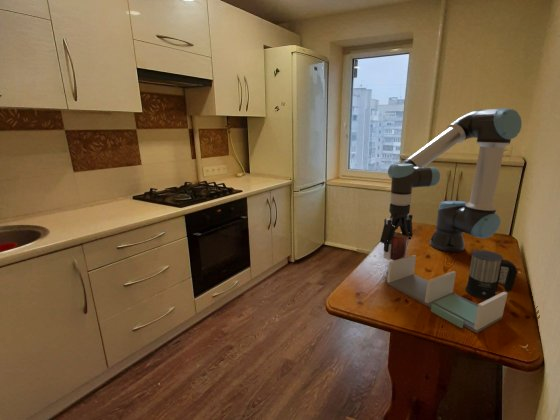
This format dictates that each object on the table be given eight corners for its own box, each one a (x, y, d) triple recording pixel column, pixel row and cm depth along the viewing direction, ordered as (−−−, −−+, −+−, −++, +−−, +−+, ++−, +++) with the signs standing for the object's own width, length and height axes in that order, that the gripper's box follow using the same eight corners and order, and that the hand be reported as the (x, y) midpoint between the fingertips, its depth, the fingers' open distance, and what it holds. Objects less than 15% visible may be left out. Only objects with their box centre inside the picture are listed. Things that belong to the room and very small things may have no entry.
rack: (411, 275, 123) (413, 254, 120) (501, 318, 95) (507, 293, 93) (383, 284, 115) (386, 263, 113) (473, 335, 88) (478, 307, 85)
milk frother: (473, 299, 106) (480, 259, 102) (451, 277, 121) (457, 242, 117) (516, 300, 105) (525, 261, 101) (489, 278, 120) (496, 243, 116)
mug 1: (386, 253, 133) (388, 230, 131) (407, 257, 129) (410, 233, 127) (381, 261, 122) (383, 236, 121) (404, 265, 118) (407, 240, 117)
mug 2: (510, 286, 115) (514, 270, 113) (489, 280, 119) (492, 264, 118) (514, 277, 122) (518, 261, 120) (495, 271, 126) (498, 256, 125)
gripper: (410, 197, 129) (405, 247, 135) (372, 205, 119) (369, 258, 125) (426, 201, 123) (420, 253, 129) (388, 209, 112) (383, 265, 118)
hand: (395, 255), depth 127 cm, fingers closed on mug 1, 9 cm apart
